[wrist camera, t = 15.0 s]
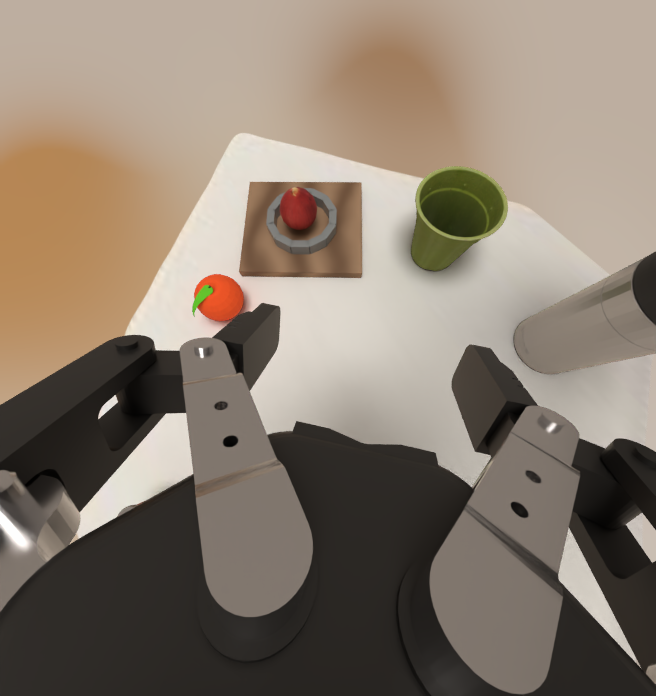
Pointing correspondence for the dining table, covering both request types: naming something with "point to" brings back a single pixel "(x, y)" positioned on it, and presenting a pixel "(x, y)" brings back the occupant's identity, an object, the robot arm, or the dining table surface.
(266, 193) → the board
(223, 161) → the dining table surface
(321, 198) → the ring
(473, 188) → the plant pot
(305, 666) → the robot arm
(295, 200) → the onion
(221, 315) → the clementine
